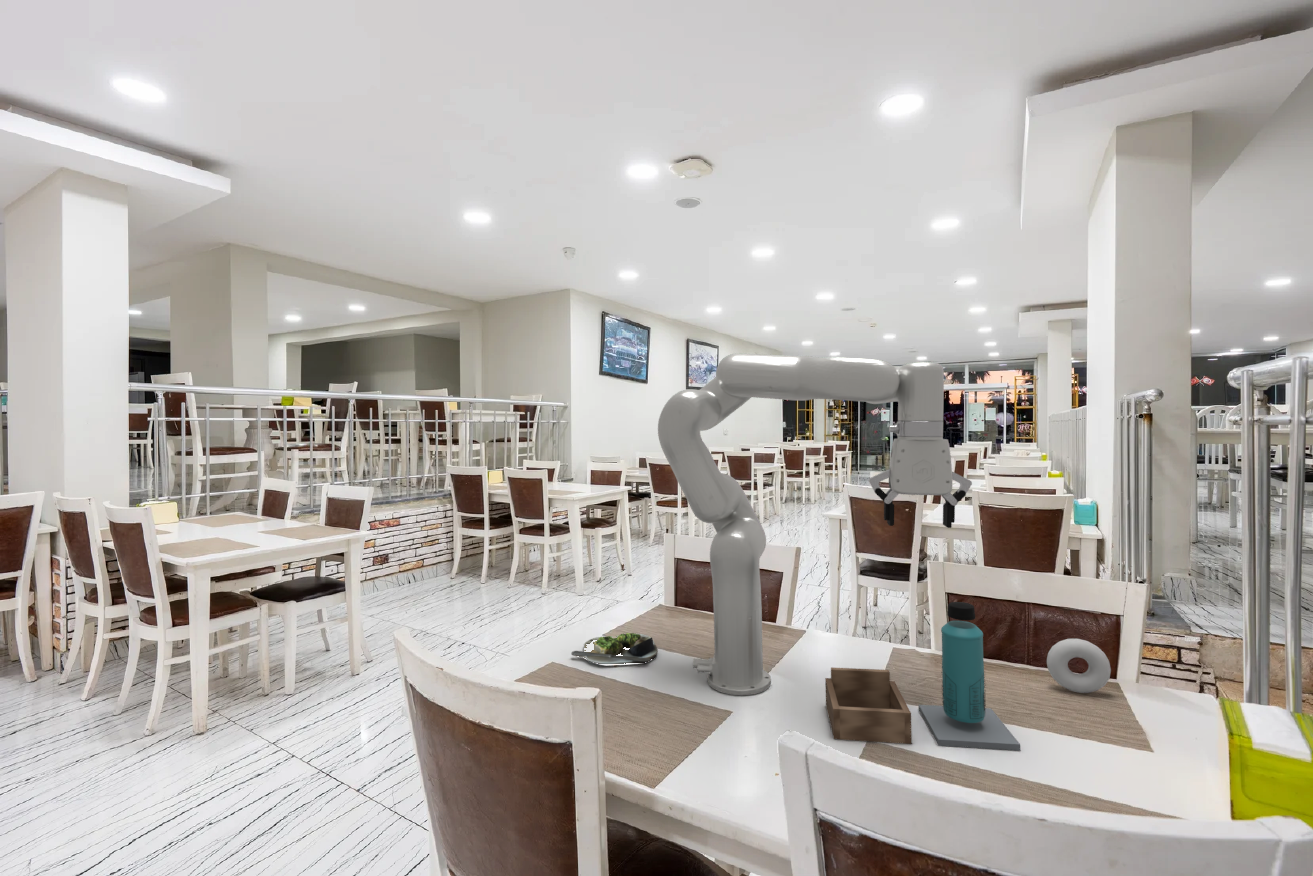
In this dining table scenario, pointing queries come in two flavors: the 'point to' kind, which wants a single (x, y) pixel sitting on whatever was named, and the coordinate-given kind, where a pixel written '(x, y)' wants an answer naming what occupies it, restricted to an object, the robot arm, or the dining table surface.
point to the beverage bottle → (963, 666)
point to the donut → (1072, 681)
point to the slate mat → (968, 730)
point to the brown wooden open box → (866, 706)
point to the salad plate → (620, 649)
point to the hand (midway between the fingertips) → (918, 525)
